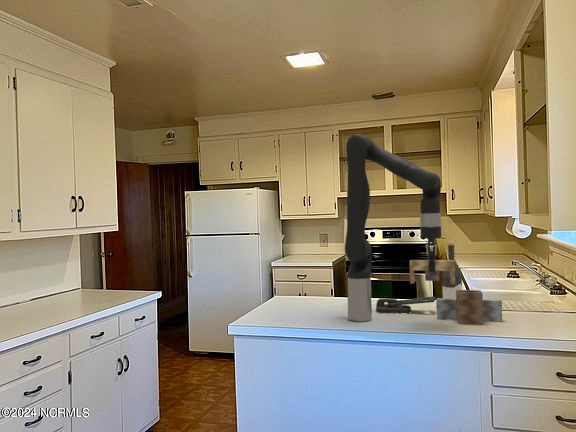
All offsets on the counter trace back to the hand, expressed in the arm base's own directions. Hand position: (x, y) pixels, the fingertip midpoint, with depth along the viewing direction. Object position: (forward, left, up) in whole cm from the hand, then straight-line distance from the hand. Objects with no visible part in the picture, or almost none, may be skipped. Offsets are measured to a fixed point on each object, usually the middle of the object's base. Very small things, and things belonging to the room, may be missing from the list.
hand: (431, 270), depth 168 cm
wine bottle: (+9, +28, -21) cm, 36 cm away
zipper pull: (-11, +23, -22) cm, 33 cm away
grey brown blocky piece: (+14, +9, -21) cm, 27 cm away
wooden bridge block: (0, 0, -5) cm, 5 cm away
